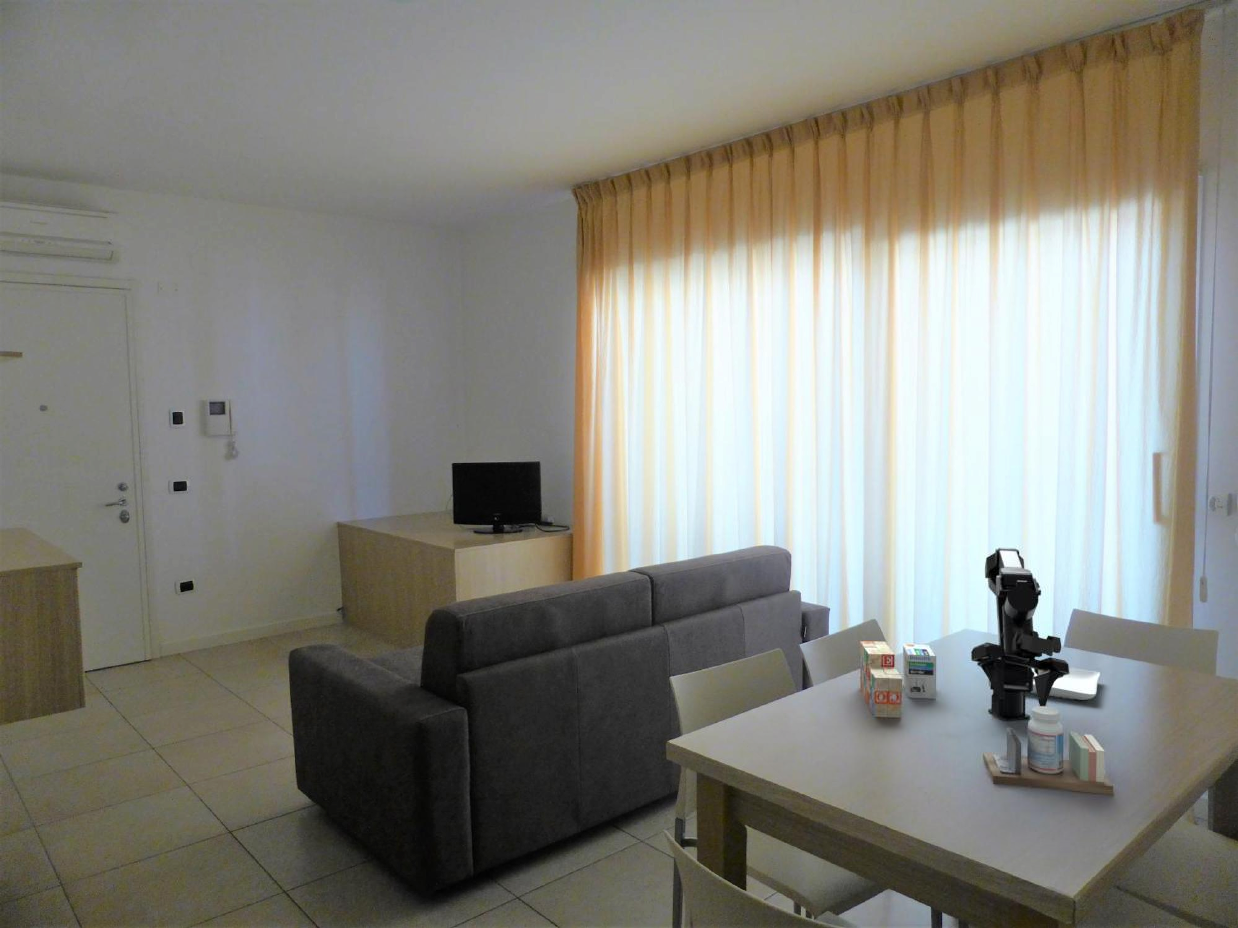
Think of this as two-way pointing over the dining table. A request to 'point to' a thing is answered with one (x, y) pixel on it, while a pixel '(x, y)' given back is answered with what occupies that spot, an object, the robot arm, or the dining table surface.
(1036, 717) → the pill bottle
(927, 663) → the light bulb box
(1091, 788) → the shelf board
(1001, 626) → the robot arm
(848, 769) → the dining table surface
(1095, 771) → the row of books
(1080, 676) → the salad plate
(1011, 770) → the bookend
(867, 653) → the stack of blocks
